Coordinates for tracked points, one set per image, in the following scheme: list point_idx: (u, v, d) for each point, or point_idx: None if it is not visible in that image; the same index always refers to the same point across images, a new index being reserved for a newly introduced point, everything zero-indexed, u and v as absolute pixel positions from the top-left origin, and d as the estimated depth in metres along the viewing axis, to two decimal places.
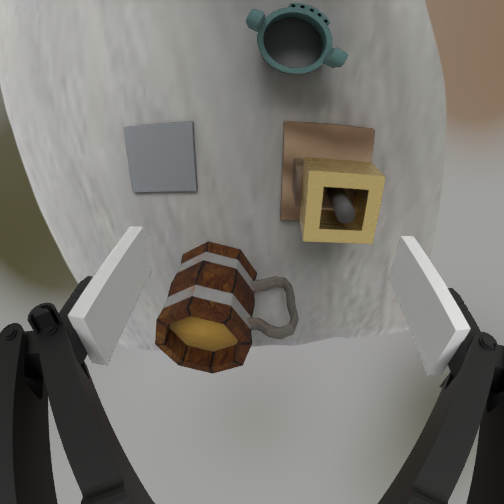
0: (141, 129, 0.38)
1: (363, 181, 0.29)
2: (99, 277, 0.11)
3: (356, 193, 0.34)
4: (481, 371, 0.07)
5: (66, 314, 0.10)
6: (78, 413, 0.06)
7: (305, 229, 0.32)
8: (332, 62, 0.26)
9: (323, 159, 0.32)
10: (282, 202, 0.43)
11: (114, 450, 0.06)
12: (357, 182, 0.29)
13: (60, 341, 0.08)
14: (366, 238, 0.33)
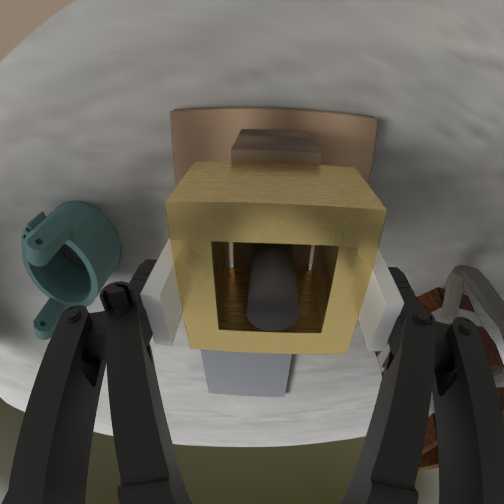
0: (210, 382, 0.36)
1: (189, 256, 0.12)
2: (165, 258, 0.12)
3: None
4: (421, 347, 0.08)
5: None
6: (137, 399, 0.07)
7: (319, 352, 0.15)
8: (45, 259, 0.17)
9: None
10: None
11: (165, 441, 0.07)
12: (196, 270, 0.12)
13: (130, 322, 0.09)
14: (366, 229, 0.11)
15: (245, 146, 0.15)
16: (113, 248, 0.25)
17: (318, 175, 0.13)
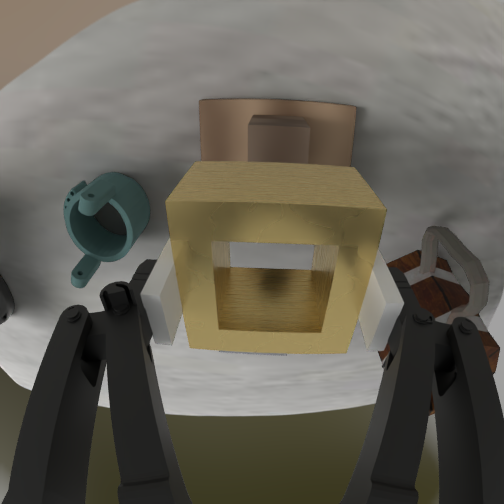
0: None
1: (189, 256, 0.12)
2: (165, 258, 0.12)
3: None
4: (421, 347, 0.08)
5: None
6: (137, 399, 0.07)
7: (319, 351, 0.15)
8: (94, 210, 0.23)
9: None
10: None
11: (165, 441, 0.07)
12: (196, 270, 0.12)
13: (130, 322, 0.09)
14: (366, 229, 0.11)
15: (257, 123, 0.21)
16: (145, 210, 0.31)
17: (318, 175, 0.13)
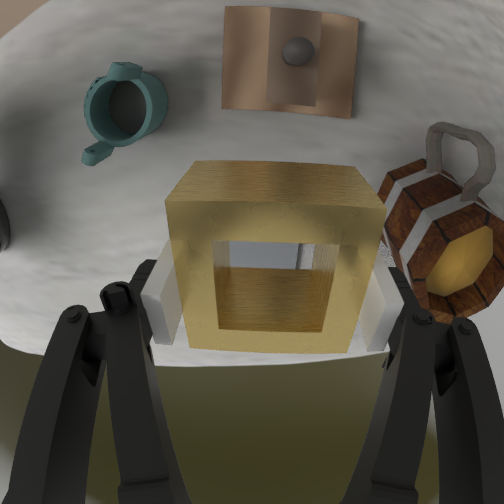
0: None
1: (189, 255, 0.12)
2: (165, 258, 0.12)
3: None
4: (421, 347, 0.08)
5: None
6: (136, 399, 0.07)
7: (319, 351, 0.15)
8: (123, 76, 0.23)
9: None
10: (326, 114, 0.30)
11: (165, 441, 0.07)
12: (196, 270, 0.12)
13: (130, 322, 0.09)
14: (366, 228, 0.11)
15: None
16: (164, 102, 0.30)
17: (318, 174, 0.13)
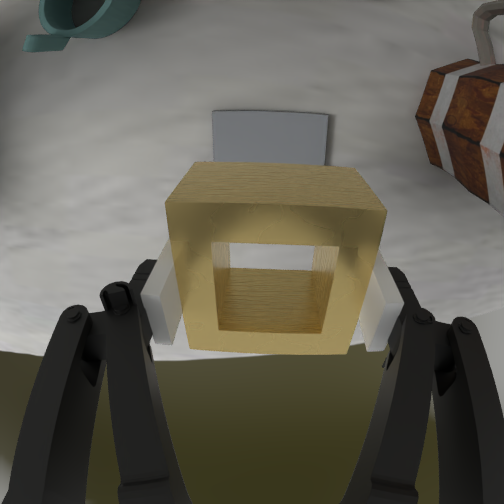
0: None
1: (189, 257, 0.12)
2: (165, 258, 0.12)
3: None
4: (421, 347, 0.08)
5: None
6: (137, 399, 0.07)
7: (319, 352, 0.15)
8: None
9: None
10: None
11: (165, 441, 0.07)
12: (195, 271, 0.12)
13: (130, 322, 0.09)
14: (366, 230, 0.11)
15: None
16: None
17: (318, 176, 0.13)
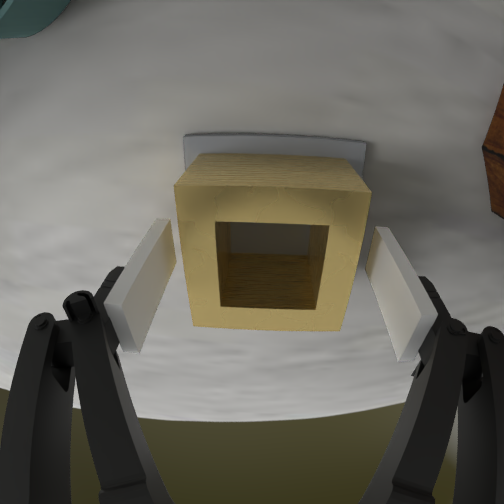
0: None
1: (194, 236, 0.13)
2: (132, 266, 0.12)
3: None
4: (452, 358, 0.08)
5: (98, 303, 0.11)
6: (107, 404, 0.07)
7: (314, 329, 0.16)
8: None
9: None
10: None
11: (139, 444, 0.07)
12: (200, 249, 0.14)
13: (94, 330, 0.09)
14: (353, 210, 0.12)
15: None
16: None
17: (311, 164, 0.15)
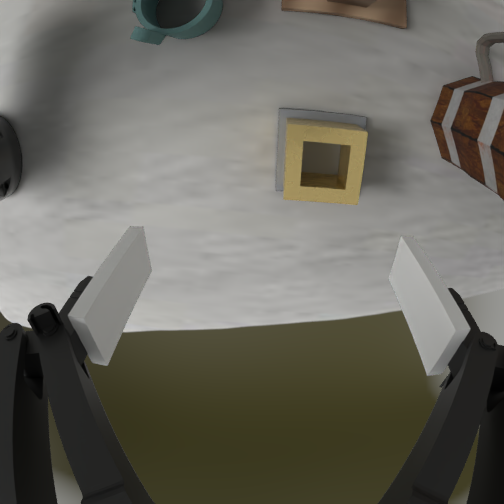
0: (280, 170, 0.35)
1: (293, 147, 0.29)
2: (99, 277, 0.11)
3: None
4: (481, 371, 0.07)
5: (66, 314, 0.10)
6: (78, 413, 0.06)
7: (344, 202, 0.31)
8: None
9: (284, 167, 0.35)
10: (384, 21, 0.24)
11: (114, 450, 0.06)
12: (295, 153, 0.29)
13: (60, 341, 0.08)
14: (360, 139, 0.28)
15: None
16: (220, 1, 0.24)
17: (341, 124, 0.30)
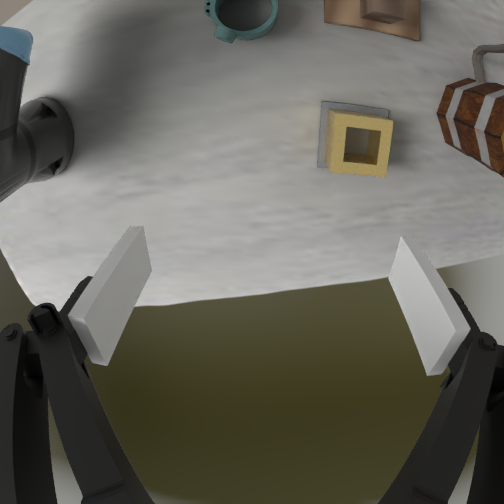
0: (322, 150, 0.42)
1: (339, 131, 0.36)
2: (99, 277, 0.11)
3: None
4: (481, 371, 0.07)
5: (66, 314, 0.10)
6: (78, 413, 0.06)
7: (376, 175, 0.39)
8: None
9: (325, 148, 0.41)
10: (402, 35, 0.31)
11: (114, 450, 0.06)
12: (340, 136, 0.36)
13: (60, 341, 0.08)
14: (388, 126, 0.35)
15: None
16: None
17: (371, 115, 0.37)
